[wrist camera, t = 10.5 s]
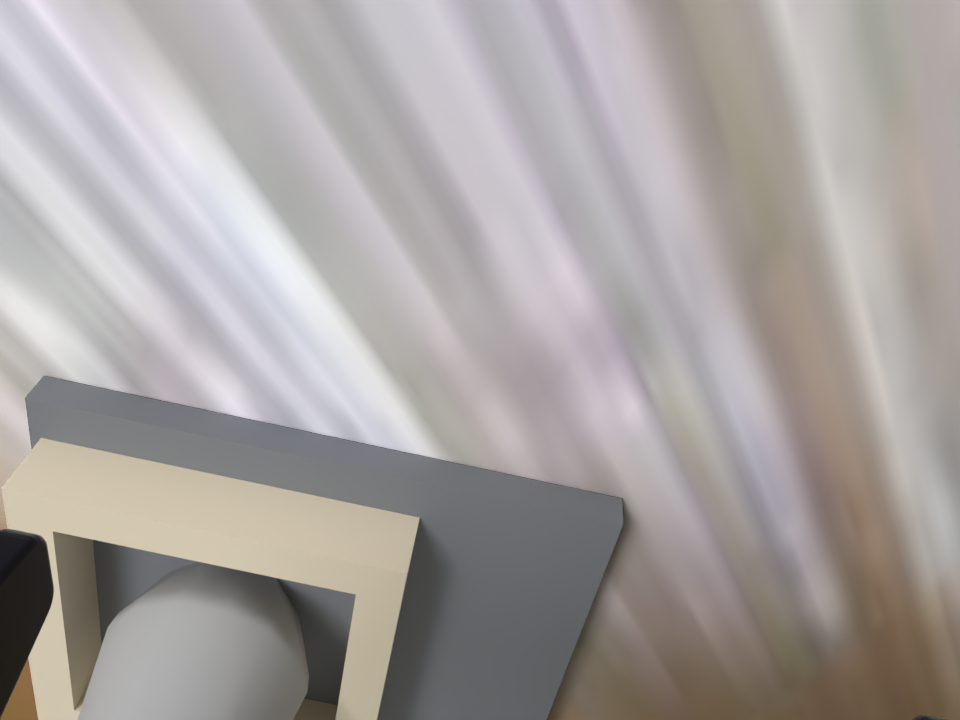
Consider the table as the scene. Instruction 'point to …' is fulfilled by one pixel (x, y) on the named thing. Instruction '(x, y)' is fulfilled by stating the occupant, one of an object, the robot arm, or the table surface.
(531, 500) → the build board
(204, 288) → the table surface
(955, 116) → the table surface
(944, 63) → the table surface
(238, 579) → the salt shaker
